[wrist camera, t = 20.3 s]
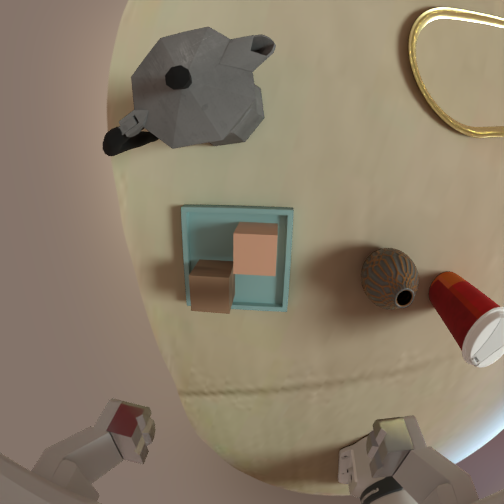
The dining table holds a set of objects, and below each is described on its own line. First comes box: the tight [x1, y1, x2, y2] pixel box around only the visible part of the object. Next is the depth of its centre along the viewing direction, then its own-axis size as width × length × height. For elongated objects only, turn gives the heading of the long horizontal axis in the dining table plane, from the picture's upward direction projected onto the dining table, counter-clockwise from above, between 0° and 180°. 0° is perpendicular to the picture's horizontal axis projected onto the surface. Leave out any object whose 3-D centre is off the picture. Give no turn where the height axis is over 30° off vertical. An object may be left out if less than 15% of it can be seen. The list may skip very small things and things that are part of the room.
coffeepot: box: [103, 27, 276, 156], centre depth 25 cm, size 15×9×18 cm, turn 119°
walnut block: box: [189, 259, 235, 314], centre depth 37 cm, size 4×4×5 cm
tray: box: [181, 205, 294, 312], centre depth 38 cm, size 13×13×2 cm
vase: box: [361, 248, 419, 310], centre depth 34 cm, size 7×7×9 cm
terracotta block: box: [233, 222, 278, 276], centre depth 35 cm, size 4×4×5 cm
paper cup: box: [429, 272, 504, 367], centre depth 31 cm, size 8×8×14 cm
